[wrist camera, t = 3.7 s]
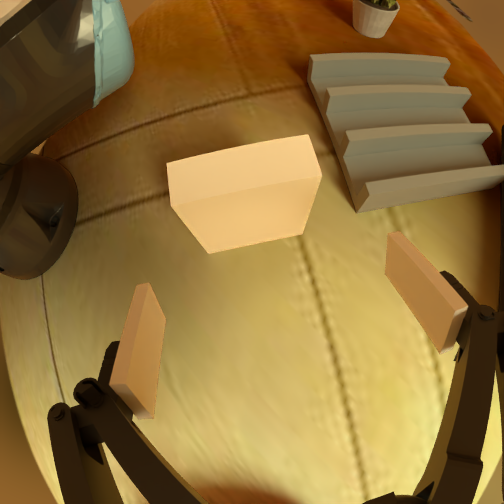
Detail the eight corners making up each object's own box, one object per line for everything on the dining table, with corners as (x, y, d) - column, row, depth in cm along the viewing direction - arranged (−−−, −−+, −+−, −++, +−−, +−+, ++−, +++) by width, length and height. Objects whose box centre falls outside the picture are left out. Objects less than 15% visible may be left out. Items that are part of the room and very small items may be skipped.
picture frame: (302, 234, 29) (322, 175, 18) (208, 253, 29) (170, 206, 18) (294, 203, 30) (307, 131, 19) (202, 222, 30) (166, 160, 19)
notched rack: (492, 188, 30) (512, 173, 25) (356, 213, 30) (369, 195, 25) (435, 77, 34) (446, 57, 30) (306, 80, 34) (309, 54, 30)
